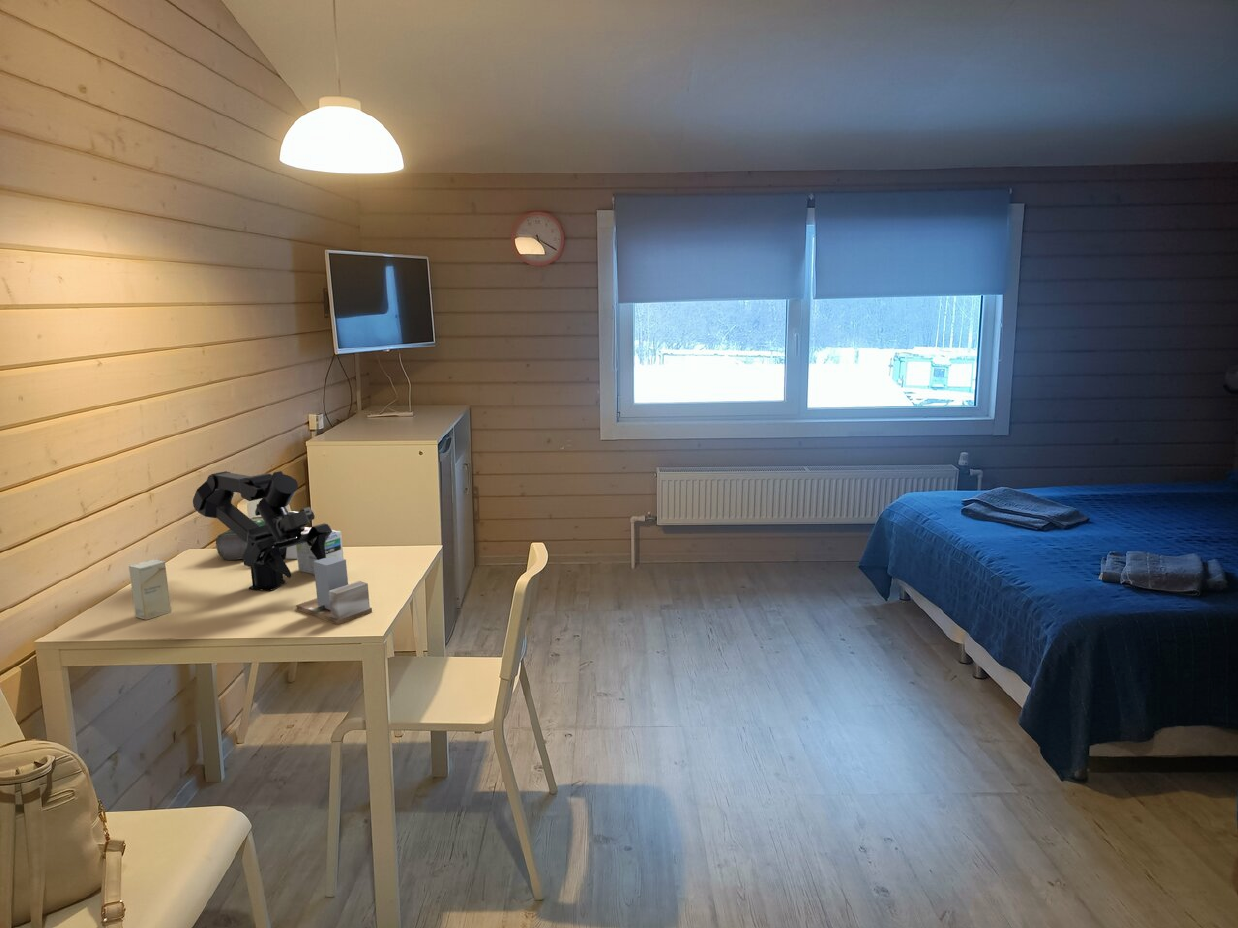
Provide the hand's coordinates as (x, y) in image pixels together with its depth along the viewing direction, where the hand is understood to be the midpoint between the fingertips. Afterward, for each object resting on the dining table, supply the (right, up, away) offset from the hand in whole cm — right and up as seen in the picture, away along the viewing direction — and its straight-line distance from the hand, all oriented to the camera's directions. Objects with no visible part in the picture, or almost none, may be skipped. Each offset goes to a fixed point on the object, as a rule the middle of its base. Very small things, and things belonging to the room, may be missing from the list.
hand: (308, 571), depth 201 cm
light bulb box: (-5, -3, +24) cm, 25 cm away
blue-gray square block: (+8, -7, -5) cm, 12 cm away
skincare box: (-34, -9, -4) cm, 35 cm away
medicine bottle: (-18, 0, +38) cm, 42 cm away
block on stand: (+7, -8, -4) cm, 12 cm away
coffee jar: (-33, +2, +32) cm, 46 cm away
